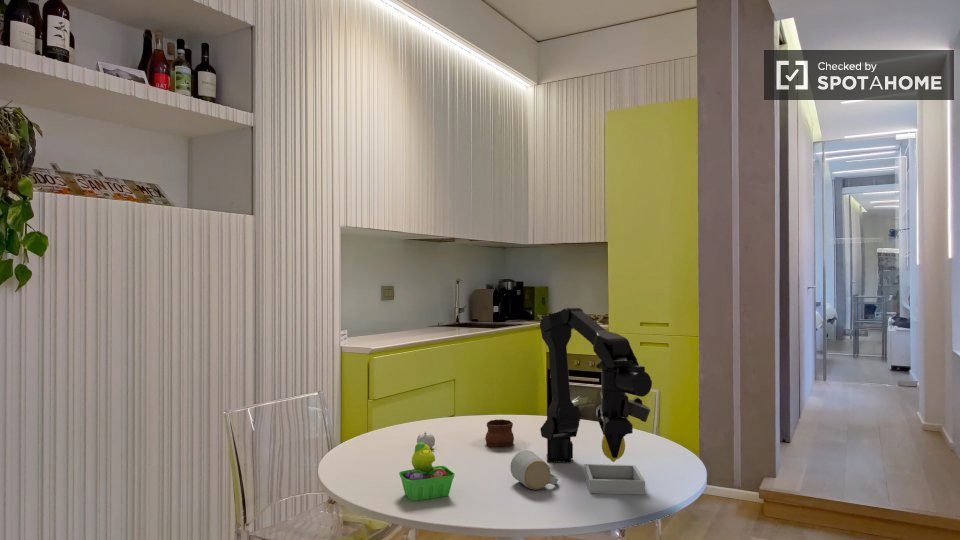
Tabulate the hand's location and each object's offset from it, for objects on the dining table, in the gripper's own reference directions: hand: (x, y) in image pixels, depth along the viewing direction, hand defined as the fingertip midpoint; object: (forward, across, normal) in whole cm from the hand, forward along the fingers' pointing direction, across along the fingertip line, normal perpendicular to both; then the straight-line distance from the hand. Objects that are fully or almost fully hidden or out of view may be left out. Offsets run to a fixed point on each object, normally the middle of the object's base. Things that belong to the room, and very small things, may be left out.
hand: (613, 454), depth 151 cm
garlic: (+8, +28, +50) cm, 58 cm away
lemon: (+2, 0, 0) cm, 2 cm away
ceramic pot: (+8, +34, +29) cm, 45 cm away
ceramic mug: (+8, -2, +19) cm, 20 cm away
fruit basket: (+8, -10, +44) cm, 46 cm away
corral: (+7, 0, 0) cm, 7 cm away
